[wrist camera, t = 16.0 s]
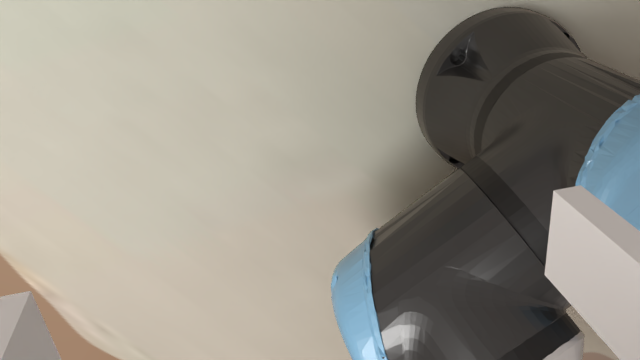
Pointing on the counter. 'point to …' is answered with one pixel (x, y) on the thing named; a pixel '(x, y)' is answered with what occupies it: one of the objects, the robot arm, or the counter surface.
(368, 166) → the counter surface
